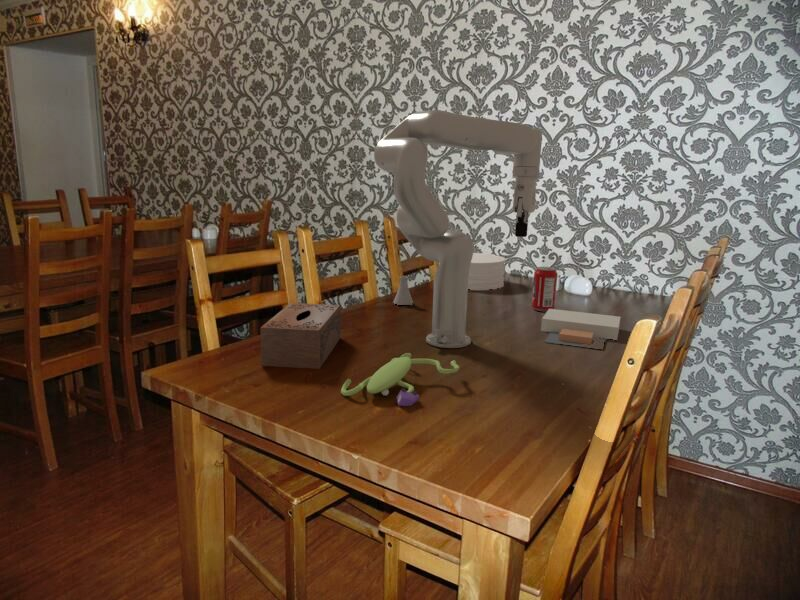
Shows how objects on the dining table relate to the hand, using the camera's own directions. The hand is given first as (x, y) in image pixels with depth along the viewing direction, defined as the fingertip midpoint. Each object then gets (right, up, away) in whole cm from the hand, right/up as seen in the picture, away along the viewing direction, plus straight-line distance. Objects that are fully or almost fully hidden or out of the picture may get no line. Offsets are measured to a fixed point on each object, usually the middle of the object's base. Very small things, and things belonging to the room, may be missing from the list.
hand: (520, 236), depth 170 cm
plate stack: (-6, -12, +76) cm, 77 cm away
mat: (+15, -31, -4) cm, 35 cm away
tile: (+15, -29, -4) cm, 33 cm away
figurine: (-35, -39, -40) cm, 66 cm away
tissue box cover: (-62, -33, -18) cm, 72 cm away
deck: (+20, -28, +8) cm, 36 cm away
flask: (-35, -21, +36) cm, 54 cm away
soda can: (+15, -23, +32) cm, 42 cm away
